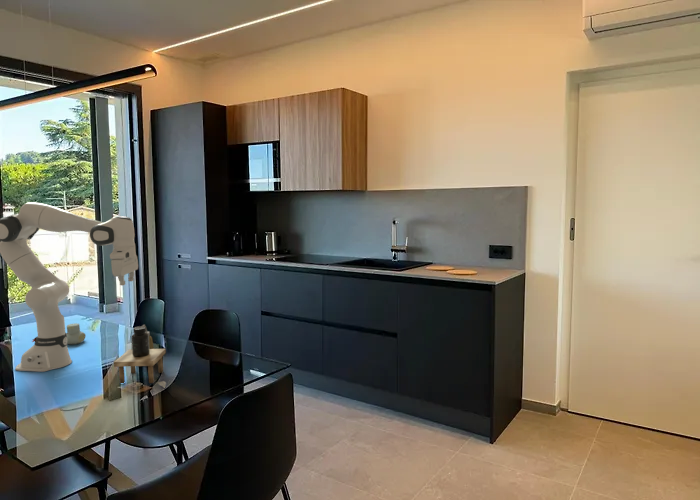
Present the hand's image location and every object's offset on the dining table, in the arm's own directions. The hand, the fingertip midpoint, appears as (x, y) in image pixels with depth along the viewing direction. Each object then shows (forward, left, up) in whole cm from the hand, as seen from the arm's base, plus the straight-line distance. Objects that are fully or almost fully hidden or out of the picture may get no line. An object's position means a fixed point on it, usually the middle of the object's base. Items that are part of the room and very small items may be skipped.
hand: (127, 283), depth 222 cm
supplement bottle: (+9, -13, -29) cm, 33 cm away
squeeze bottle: (+4, +6, -39) cm, 40 cm away
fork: (+24, -27, -40) cm, 54 cm away
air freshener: (-45, +39, -39) cm, 71 cm away
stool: (+9, -13, -39) cm, 42 cm away
